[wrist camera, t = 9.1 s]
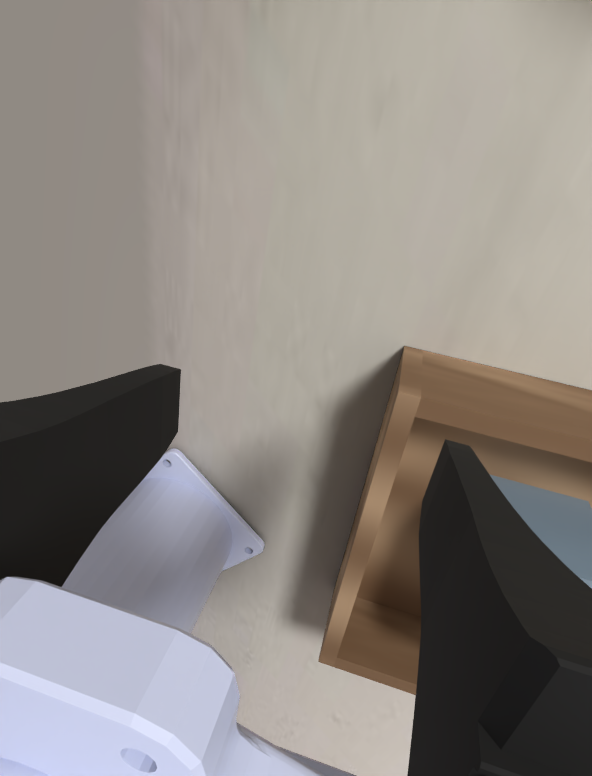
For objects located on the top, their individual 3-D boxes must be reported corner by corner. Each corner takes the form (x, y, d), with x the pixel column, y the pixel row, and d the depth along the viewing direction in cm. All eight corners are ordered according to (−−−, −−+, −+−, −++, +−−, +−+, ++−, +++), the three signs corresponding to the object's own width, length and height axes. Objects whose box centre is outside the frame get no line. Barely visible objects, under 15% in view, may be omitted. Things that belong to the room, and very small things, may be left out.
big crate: (580, 669, 26) (606, 760, 22) (333, 590, 28) (318, 661, 24) (758, 430, 19) (845, 504, 15) (404, 345, 21) (398, 391, 17)
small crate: (527, 604, 24) (548, 702, 20) (429, 574, 25) (429, 662, 21) (588, 501, 21) (629, 592, 17) (474, 470, 22) (485, 549, 18)
